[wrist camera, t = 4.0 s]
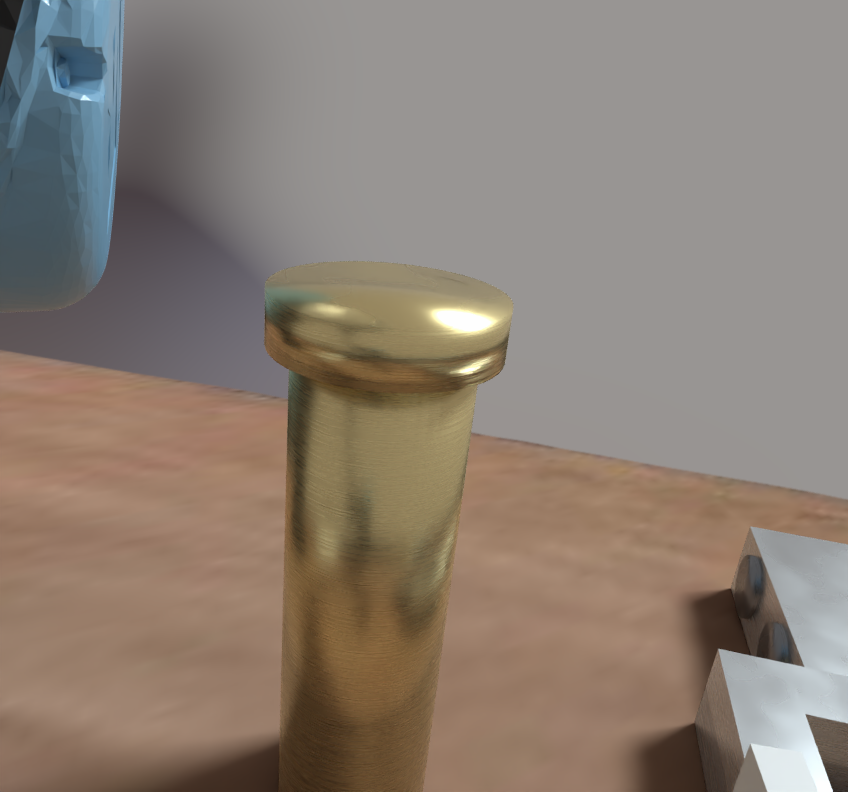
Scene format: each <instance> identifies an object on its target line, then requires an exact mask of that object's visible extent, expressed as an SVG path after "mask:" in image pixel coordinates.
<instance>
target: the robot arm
mask: <svg viewBox="0 0 848 792" xmlns="http://www.w3.org/2000/svg"><path fill="white" fill-rule="evenodd" d="M123 31H124V0H0V313H1V312H24V311H48V310H56V309H60V308H64V307H68V306H69V305H71V304H73V303H75V302H77V301H79V300H81V299H82V298H84V297H85V296H86V295H88V294H89V292H90V291H91V290H92V289H93V288H94V287H95V286H96V285H97V283H98V282H99V280H100V278H101V276H102V274H103V272H104V270H105V266H106V263H107V258H108V252H109V244H110V236H111V228H112V218H113V217H112V216H113V208H114V195H115V183H116V169H117V154H118V153H117V152H118V139H119V119H120V103H121V76H122V54H123ZM733 792H818V790H817V787H816V785H815V783H814V780H813V778H812V776H811V773H810V771H809V769H808V766H807V764H806V762H805V759H804V757H803V755H802V752H798V751H792V750H786V749H780V748H774V747H768V746H762V745H757V744H751V743H750V746H749V748H748V751H747V754H746V756H745V759H744V762H743V765H742V767H741V770H740V773H739V775H738V778H737V781H736V783H735V786H734V789H733Z"/></svg>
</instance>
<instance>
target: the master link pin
mask: <svg viewBox="0 0 848 792" xmlns="http://www.w3.org/2000/svg"><path fill="white" fill-rule="evenodd" d="M512 312H513V302H512V300H511V298H510V297H508V295H507V294H505V293H504V292H502V291H501V290H499V289H497V288H496V287H494V286H491V285H489V284H487V283H484V282H482V281H479V280H476V279H474V278H470V277H467V276H464V275H460V274H456V273H452V272H447V271H443V270H438V269H432V268H427V267H420V266H414V265H406V264H396V263H384V262H365V261H340V262H323V263H313V264H306V265H300V266H295V267H291V268H287V269H284V270H281V271H279V272H277V273H275V274H273V275H272V276H270V277H269V278H268V279H267V281H266V282H265V329H264V331H265V333H264V335H265V336H264V345H265V348H266V351H267V352H268V354H269V355H270V356H271V357H272V358H273V359H274V360H275V361H276V362H277V363H279V364H281V365H282V366H284V367H285V368H287V369H289V386H288V388H289V389H288V427H287V467H286V507H285V547H284V588H283V628H282V668H281V709H280V749H279V792H423V786H424V778H425V771H426V763H427V756H428V749H429V741H430V734H431V726H432V719H433V711H434V704H435V697H436V689H437V682H438V674H439V667H440V659H441V652H442V645H443V637H444V630H445V622H446V615H447V608H448V600H449V593H450V585H451V578H452V570H453V563H454V556H455V548H456V541H457V533H458V526H459V518H460V511H461V504H462V496H463V489H464V481H465V474H466V466H467V459H468V452H469V444H470V437H471V428H472V422H473V415H474V407H475V400H476V392H477V385H478V384H481V383H484V382H486V381H488V380H490V379H492V378H493V377H495V376H496V375H498V374H499V373H500V372H501V370H502V369H503V367H504V365H505V360H506V353H507V346H508V340H509V331H510V326H511V319H512Z"/></svg>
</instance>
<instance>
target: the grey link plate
mask: <svg viewBox="0 0 848 792" xmlns="http://www.w3.org/2000/svg"><path fill="white" fill-rule="evenodd" d="M731 590H732V593H733V597H734V600H735V606H736V611H737V614H738V616H739V617H740V620H741V624H742V627H743V630H744V634H745V637H746V641H747V644H748V647H749V651H750V654H751V656H750V655H746V654H741V653H736V652H731V651H727V650H722V649H718V651H717V654H716V657H715V660H714V663H713V666H712V669H711V672H710V675H709V679H708V682H707V685H706V688H705V691H704V694H703V697H702V700H701V703H700V706H699V709H698V712H697V716H696V719H695V727H696V733H697V739H698V744H699V750H700V756H701V762H702V767H703V773H704V779H705V785H706V790H707V792H733V789H734V786H735V783H736V781H737V778H738V775H739V773H740V770H741V767H742V765H743V762H744V759H745V756H746V754H747V751H748V748H749V746H750V743H751V744H757V745H762V746H768V747H774V748H780V749H786V750H792V751H798V752H802V755H803V757H804V759H805V762H806V764H807V766H808V769H809V771H810V773H811V776H812V778H813V780H814V783H815V785H816V787H817V790H818V792H848V545H847V544H842V543H836V542H831V541H826V540H820V539H815V538H809V537H804V536H799V535H793V534H788V533H783V532H777V531H772V530H766V529H761V528H756V527H750V529H749V532H748V535H747V538H746V541H745V544H744V547H743V550H742V554H741V557H740V560H739V563H738V566H737V569H736V572H735V576H734V579H733V582H732V585H731Z"/></svg>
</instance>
